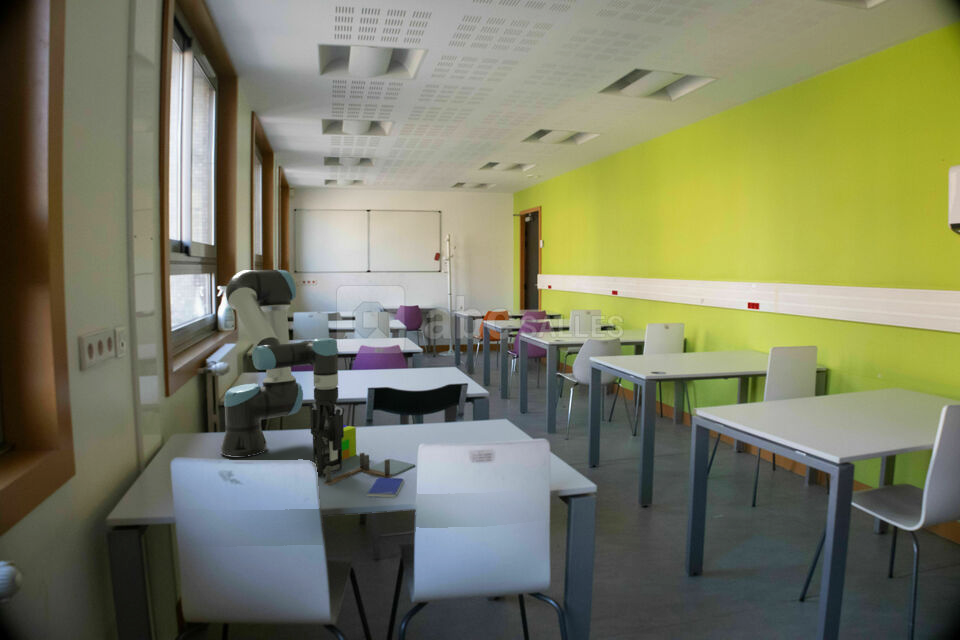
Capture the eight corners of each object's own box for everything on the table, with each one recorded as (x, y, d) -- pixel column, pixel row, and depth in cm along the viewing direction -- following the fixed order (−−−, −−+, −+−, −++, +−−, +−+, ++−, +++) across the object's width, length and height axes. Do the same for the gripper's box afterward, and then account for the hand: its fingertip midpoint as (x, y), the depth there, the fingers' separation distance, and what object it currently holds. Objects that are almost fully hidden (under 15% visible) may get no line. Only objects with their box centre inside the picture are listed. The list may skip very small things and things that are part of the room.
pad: (367, 469, 188) (367, 468, 187) (389, 460, 197) (389, 458, 197) (393, 476, 182) (393, 474, 182) (415, 465, 191) (415, 464, 191)
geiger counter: (336, 465, 191) (335, 420, 190) (345, 468, 189) (344, 423, 187) (309, 474, 183) (308, 427, 182) (318, 477, 180) (317, 430, 179)
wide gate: (324, 484, 175) (324, 466, 175) (361, 468, 189) (361, 452, 188) (329, 485, 174) (328, 468, 174) (366, 469, 188) (366, 453, 187)
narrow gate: (387, 478, 180) (386, 461, 179) (362, 472, 185) (362, 455, 185) (391, 476, 182) (391, 459, 181) (367, 470, 187) (366, 454, 186)
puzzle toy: (335, 450, 207) (334, 423, 207) (356, 455, 202) (355, 427, 201) (314, 458, 199) (313, 430, 198) (335, 463, 194) (334, 434, 193)
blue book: (395, 493, 165) (403, 478, 177) (366, 493, 166) (377, 477, 178) (395, 499, 165) (403, 483, 178) (367, 498, 166) (377, 482, 178)
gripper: (297, 385, 185) (299, 456, 187) (337, 392, 175) (339, 466, 178) (315, 381, 191) (316, 450, 193) (355, 388, 182) (356, 459, 184)
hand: (327, 458), depth 185 cm, fingers closed on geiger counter, 5 cm apart
